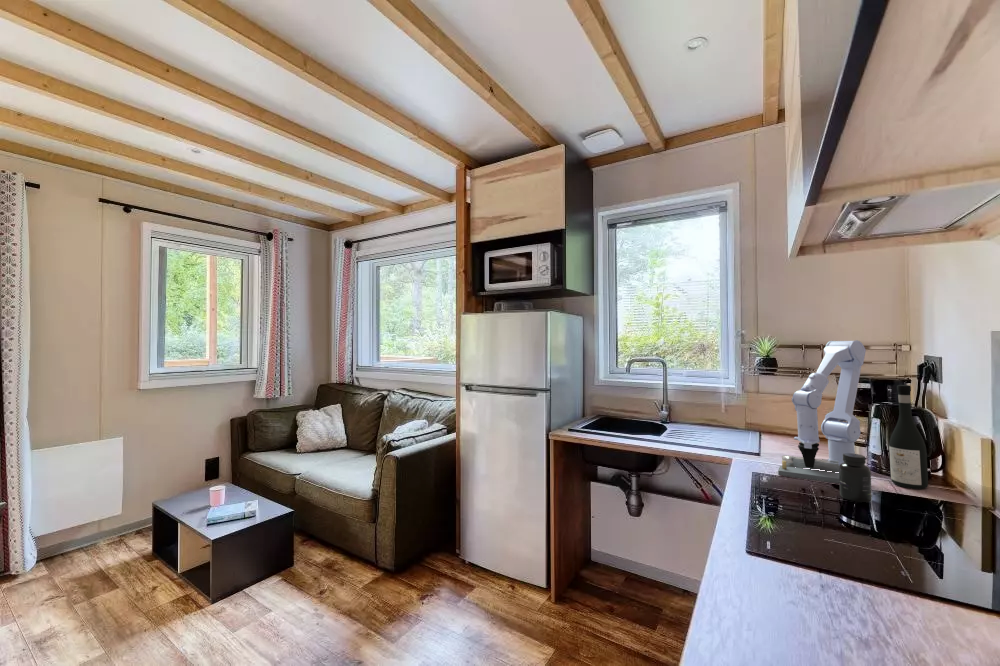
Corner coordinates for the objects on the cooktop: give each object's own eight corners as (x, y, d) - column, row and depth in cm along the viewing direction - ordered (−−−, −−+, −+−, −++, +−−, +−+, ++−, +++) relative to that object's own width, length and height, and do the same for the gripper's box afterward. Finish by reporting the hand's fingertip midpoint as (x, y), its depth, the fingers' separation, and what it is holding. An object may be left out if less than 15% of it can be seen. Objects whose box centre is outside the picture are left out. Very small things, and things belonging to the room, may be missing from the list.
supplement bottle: (834, 496, 119) (832, 453, 119) (848, 492, 122) (846, 450, 122) (864, 504, 113) (861, 459, 113) (877, 500, 116) (875, 456, 116)
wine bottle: (919, 491, 121) (913, 386, 123) (885, 483, 129) (880, 385, 130) (934, 487, 124) (928, 385, 126) (900, 480, 132) (895, 383, 133)
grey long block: (783, 464, 151) (782, 454, 151) (838, 471, 142) (838, 460, 142) (782, 468, 147) (781, 457, 148) (839, 475, 138) (838, 464, 138)
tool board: (780, 470, 145) (779, 458, 145) (864, 481, 132) (863, 468, 132) (778, 475, 140) (777, 462, 140) (866, 487, 126) (865, 473, 126)
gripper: (794, 421, 153) (796, 459, 153) (792, 427, 142) (794, 468, 141) (819, 423, 149) (821, 462, 149) (818, 430, 138) (820, 472, 137)
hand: (809, 465), depth 145 cm, fingers open, 4 cm apart
